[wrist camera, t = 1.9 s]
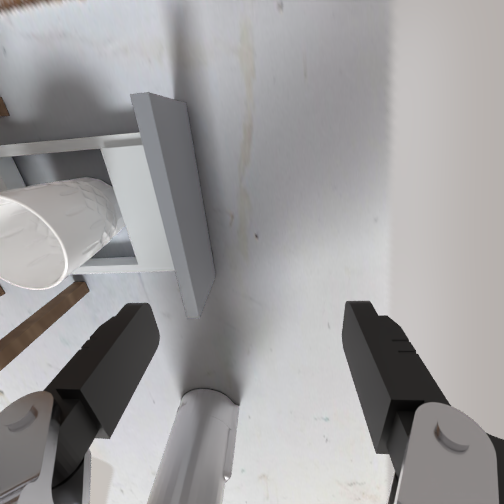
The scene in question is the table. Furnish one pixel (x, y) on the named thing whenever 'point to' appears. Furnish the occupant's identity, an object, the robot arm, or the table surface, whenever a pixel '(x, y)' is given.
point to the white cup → (54, 229)
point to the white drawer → (147, 195)
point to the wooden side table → (40, 321)
